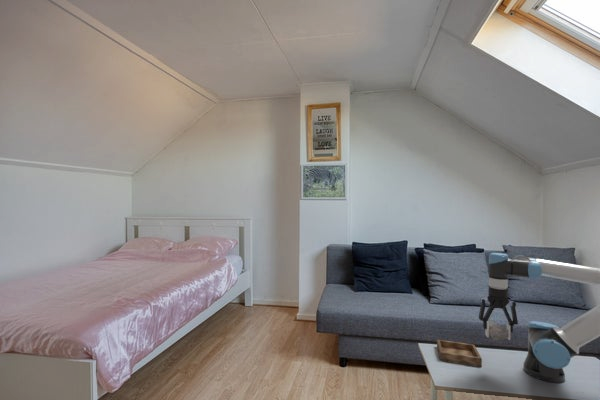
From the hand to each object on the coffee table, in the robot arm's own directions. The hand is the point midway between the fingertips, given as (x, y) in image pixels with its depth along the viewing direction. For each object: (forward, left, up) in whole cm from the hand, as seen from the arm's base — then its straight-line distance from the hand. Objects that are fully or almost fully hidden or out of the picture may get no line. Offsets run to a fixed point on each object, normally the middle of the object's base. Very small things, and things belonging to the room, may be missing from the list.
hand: (497, 337), depth 143 cm
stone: (+1, -1, 0) cm, 1 cm away
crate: (+14, -14, -17) cm, 26 cm away
